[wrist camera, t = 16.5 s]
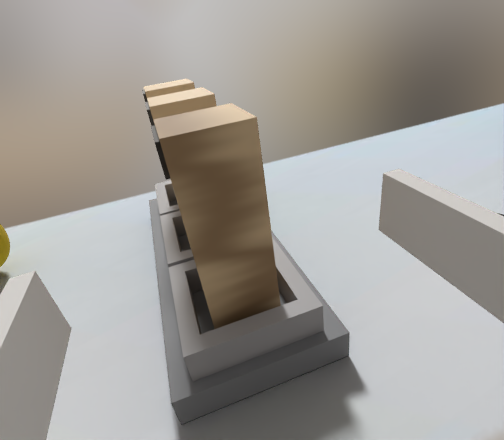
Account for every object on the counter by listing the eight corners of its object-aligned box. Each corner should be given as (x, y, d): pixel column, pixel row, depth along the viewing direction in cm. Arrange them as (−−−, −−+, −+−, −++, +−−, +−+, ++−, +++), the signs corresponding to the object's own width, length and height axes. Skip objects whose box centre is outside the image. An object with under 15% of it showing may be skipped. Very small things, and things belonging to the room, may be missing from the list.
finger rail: (234, 193, 40) (212, 71, 32) (348, 355, 19) (355, 112, 12) (154, 215, 38) (111, 89, 30) (181, 424, 17) (64, 180, 10)
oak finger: (260, 279, 22) (231, 103, 16) (282, 319, 19) (256, 117, 13) (202, 298, 22) (149, 120, 15) (215, 344, 18) (153, 139, 12)
